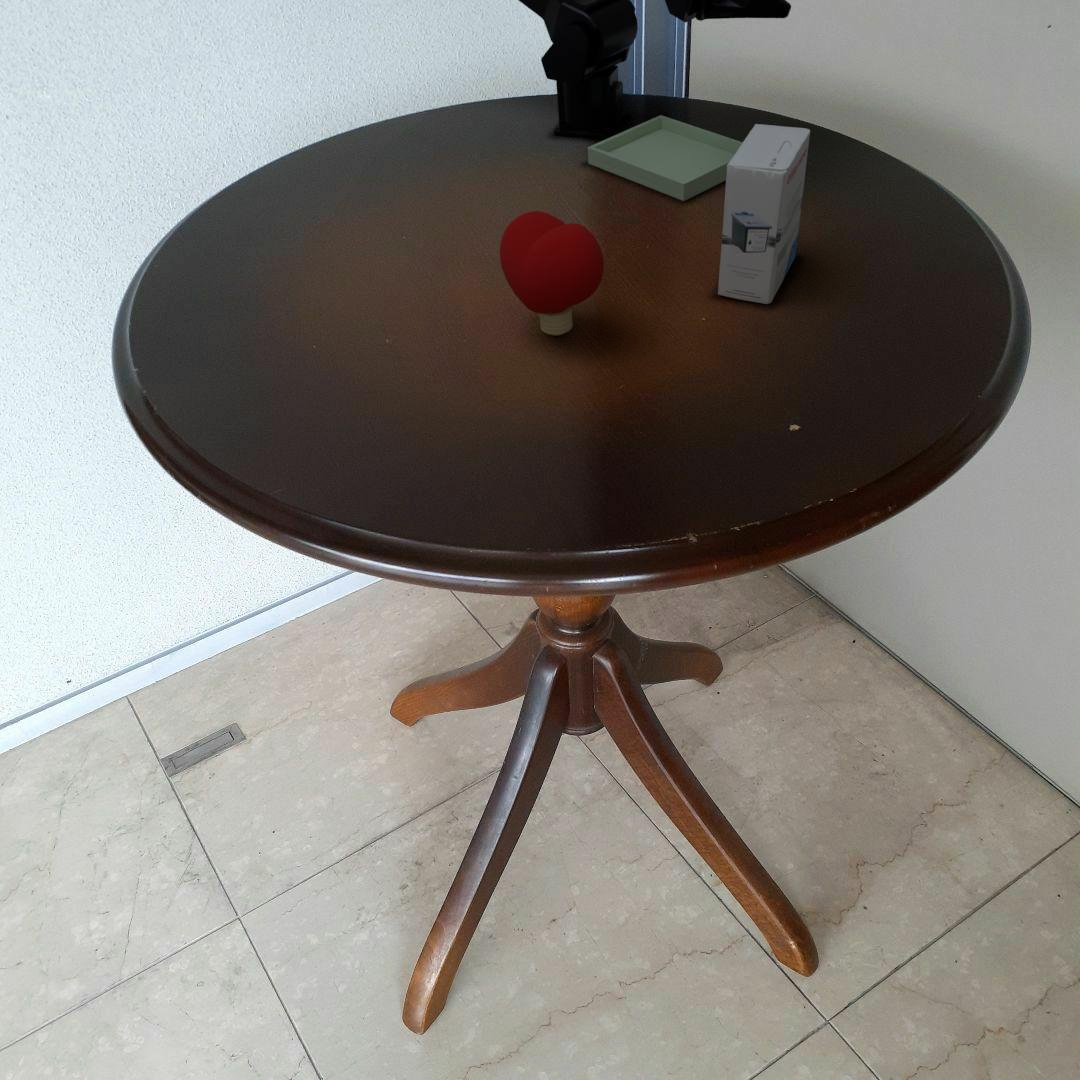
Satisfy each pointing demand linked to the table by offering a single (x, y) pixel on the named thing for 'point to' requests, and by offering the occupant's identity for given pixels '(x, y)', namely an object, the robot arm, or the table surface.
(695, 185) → the tray
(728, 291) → the ink box
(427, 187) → the table surface
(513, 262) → the red heart on stand
